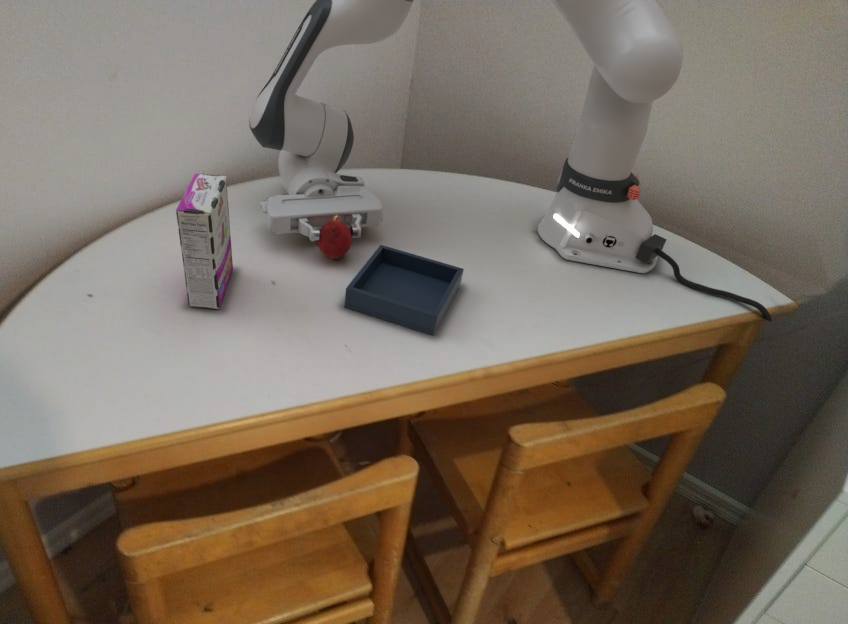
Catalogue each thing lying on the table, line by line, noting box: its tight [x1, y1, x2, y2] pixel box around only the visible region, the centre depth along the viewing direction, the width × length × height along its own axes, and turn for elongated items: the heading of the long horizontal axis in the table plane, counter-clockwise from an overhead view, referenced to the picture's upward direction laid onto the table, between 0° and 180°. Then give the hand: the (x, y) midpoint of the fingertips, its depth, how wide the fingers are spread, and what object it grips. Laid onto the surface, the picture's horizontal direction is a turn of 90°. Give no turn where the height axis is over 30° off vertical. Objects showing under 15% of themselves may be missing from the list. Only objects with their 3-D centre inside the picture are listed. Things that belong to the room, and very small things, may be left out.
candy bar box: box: [175, 173, 234, 310], centre depth 94 cm, size 11×5×16 cm, turn 179°
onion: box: [316, 215, 353, 260], centre depth 106 cm, size 6×6×8 cm
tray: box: [344, 244, 464, 336], centre depth 101 cm, size 15×15×4 cm
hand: (336, 235), depth 105 cm, fingers closed on onion, 6 cm apart
